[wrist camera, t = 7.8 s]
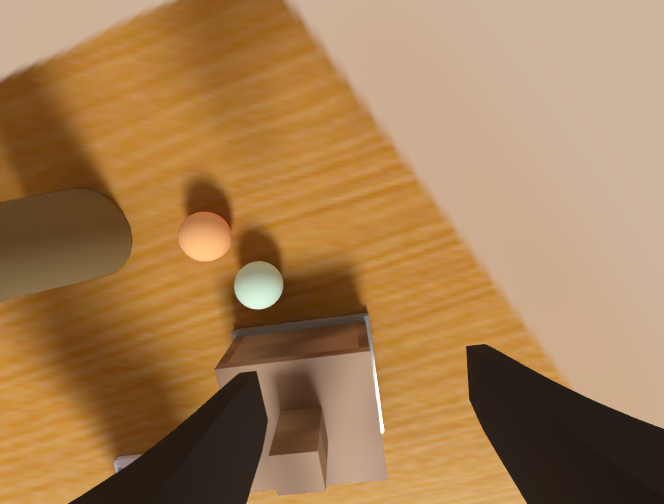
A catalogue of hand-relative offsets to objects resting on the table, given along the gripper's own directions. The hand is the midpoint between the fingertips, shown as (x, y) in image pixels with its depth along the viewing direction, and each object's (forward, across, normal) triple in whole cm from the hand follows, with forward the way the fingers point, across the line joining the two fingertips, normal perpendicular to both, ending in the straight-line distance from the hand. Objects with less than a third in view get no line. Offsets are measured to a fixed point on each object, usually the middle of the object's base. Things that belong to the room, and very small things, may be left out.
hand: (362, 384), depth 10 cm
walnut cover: (+10, +4, +7) cm, 13 cm away
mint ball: (+10, +6, -1) cm, 12 cm away
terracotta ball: (+10, +8, -5) cm, 14 cm away
